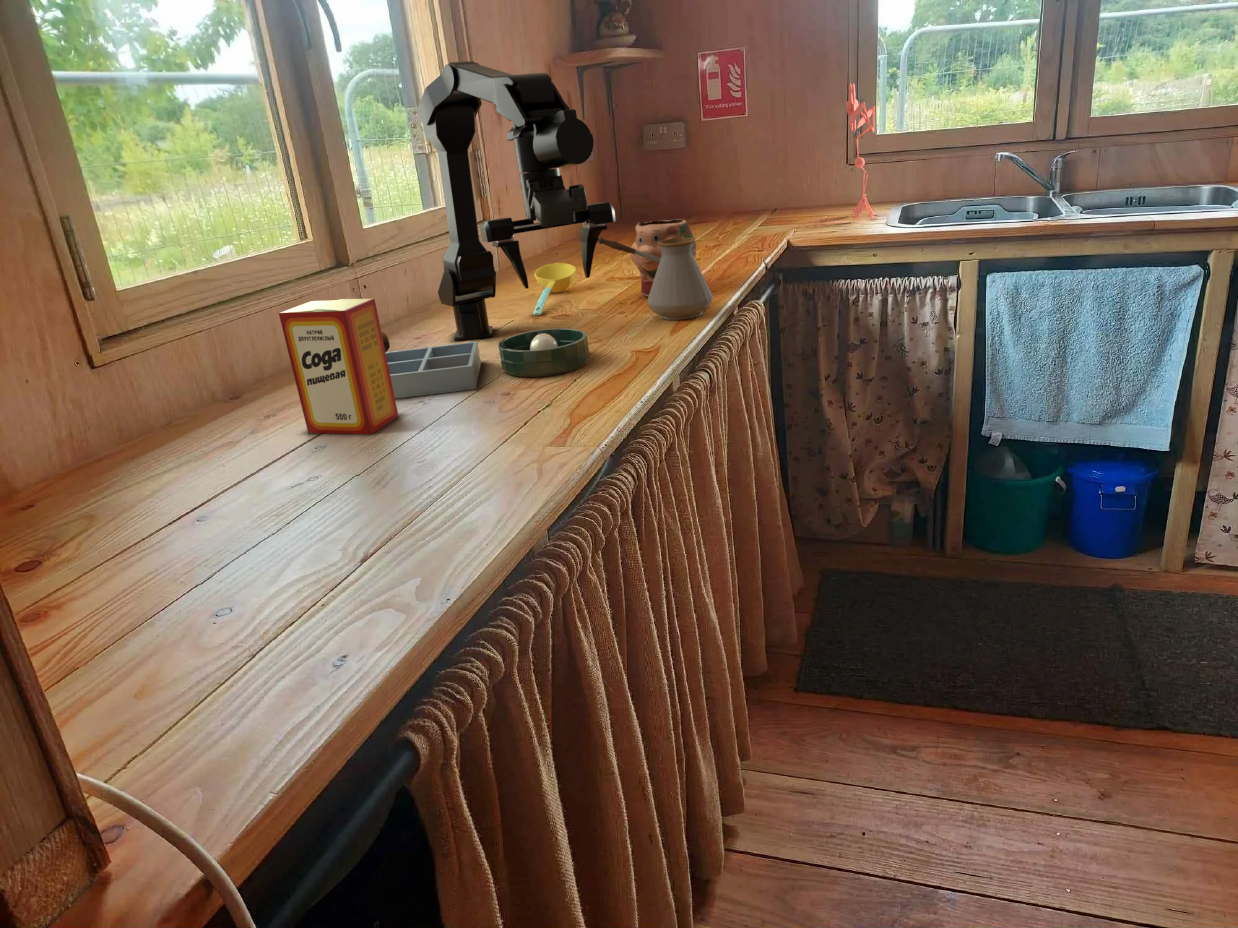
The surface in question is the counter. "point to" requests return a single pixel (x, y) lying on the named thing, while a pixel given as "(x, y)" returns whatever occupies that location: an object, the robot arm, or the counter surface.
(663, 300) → the coffee pot
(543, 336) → the egg
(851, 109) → the figurine
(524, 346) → the bowl
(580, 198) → the robot arm
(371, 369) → the baking soda box
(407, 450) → the counter surface
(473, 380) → the divided tray
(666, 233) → the decorative planter
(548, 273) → the ladle
